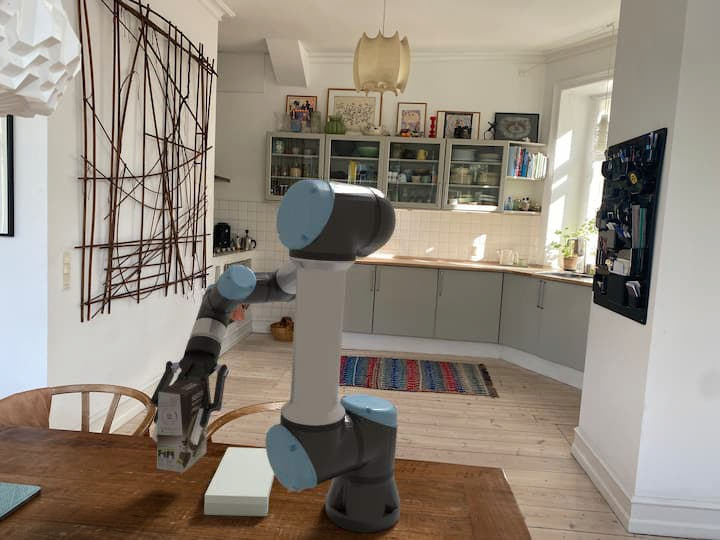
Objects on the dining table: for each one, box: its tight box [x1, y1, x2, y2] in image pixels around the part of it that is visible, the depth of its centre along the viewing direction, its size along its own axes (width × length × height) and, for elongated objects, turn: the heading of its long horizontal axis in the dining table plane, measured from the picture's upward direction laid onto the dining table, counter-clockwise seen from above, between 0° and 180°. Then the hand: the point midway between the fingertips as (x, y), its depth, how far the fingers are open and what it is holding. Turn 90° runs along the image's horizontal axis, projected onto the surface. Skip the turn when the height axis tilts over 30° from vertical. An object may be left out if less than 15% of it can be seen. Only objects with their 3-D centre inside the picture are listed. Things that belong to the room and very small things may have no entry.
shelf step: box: [203, 446, 275, 517], centre depth 103 cm, size 12×20×4 cm, turn 3°
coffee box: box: [156, 379, 208, 473], centre depth 100 cm, size 9×6×16 cm
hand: (174, 440), depth 97 cm, fingers closed on coffee box, 7 cm apart
